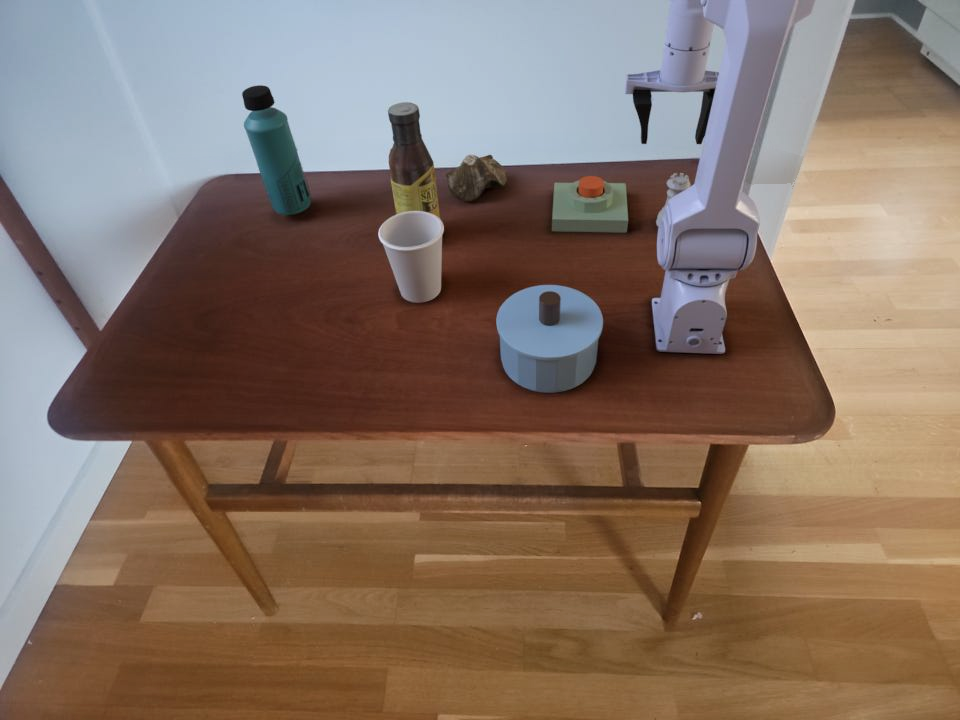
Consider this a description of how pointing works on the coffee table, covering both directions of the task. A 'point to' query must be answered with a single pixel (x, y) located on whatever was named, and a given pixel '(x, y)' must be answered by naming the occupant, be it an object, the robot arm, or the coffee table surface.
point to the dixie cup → (414, 253)
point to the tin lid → (549, 322)
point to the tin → (548, 370)
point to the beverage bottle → (275, 152)
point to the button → (590, 187)
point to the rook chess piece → (674, 190)
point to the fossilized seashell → (475, 177)
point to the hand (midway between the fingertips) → (670, 140)
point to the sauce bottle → (411, 163)
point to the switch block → (590, 209)
